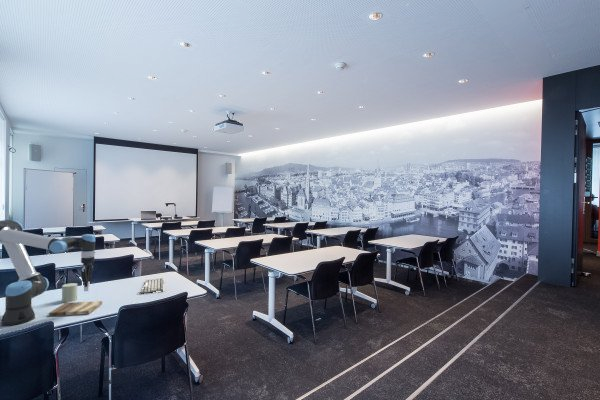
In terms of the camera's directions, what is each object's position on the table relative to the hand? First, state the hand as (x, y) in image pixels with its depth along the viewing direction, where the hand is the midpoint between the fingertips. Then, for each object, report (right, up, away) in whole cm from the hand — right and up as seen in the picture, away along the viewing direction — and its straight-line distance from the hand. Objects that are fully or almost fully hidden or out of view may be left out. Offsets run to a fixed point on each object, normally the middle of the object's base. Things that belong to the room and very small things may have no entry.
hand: (86, 290), depth 200 cm
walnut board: (-13, -13, -2) cm, 18 cm away
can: (-25, -12, +17) cm, 33 cm away
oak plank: (-1, -13, 0) cm, 13 cm away
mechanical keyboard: (+19, -14, +53) cm, 58 cm away
